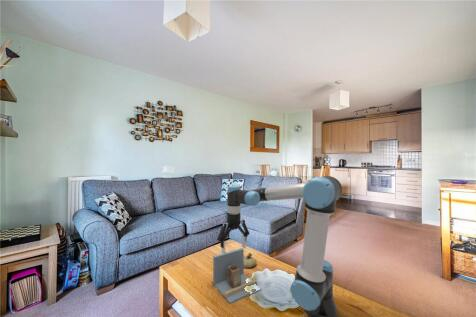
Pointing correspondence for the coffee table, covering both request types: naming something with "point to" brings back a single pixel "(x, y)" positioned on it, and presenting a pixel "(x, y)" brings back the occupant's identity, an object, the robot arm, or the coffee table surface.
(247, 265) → the acorn cap
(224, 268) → the bracket
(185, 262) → the coffee table surface
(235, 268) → the cabinet block
